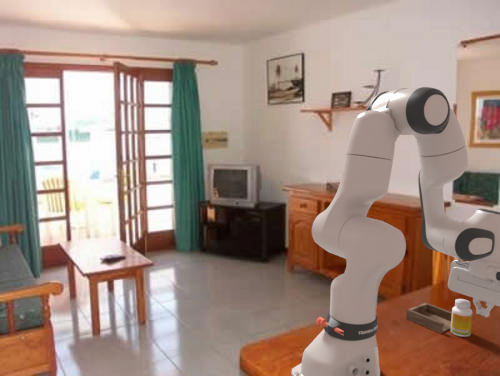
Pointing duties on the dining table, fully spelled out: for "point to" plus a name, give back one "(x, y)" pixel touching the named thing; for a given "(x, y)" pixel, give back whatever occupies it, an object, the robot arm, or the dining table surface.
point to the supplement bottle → (461, 318)
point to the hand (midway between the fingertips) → (482, 315)
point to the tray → (430, 317)
